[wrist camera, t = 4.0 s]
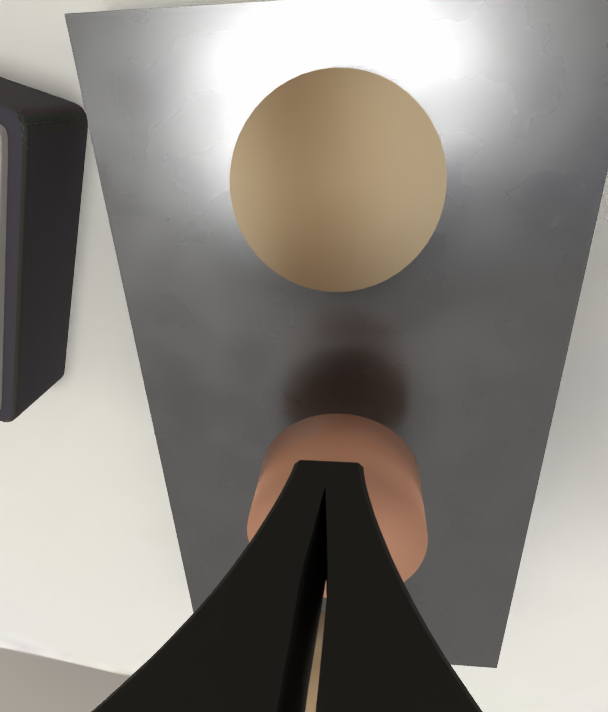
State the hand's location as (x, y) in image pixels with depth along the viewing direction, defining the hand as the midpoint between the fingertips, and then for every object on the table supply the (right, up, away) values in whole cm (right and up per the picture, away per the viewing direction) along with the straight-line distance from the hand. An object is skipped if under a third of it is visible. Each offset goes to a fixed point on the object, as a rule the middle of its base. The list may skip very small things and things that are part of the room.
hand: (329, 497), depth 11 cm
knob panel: (+1, +1, +10) cm, 10 cm away
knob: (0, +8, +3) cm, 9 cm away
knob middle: (+1, -1, +6) cm, 6 cm away
